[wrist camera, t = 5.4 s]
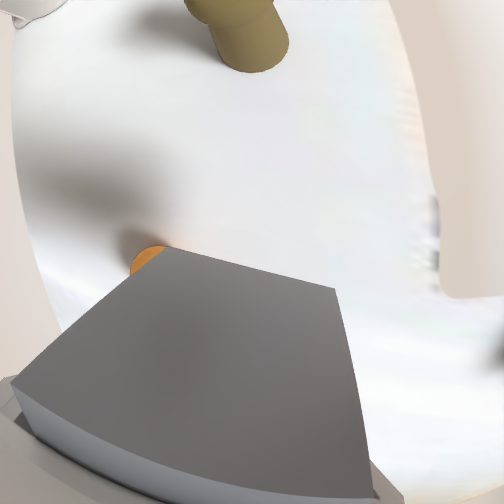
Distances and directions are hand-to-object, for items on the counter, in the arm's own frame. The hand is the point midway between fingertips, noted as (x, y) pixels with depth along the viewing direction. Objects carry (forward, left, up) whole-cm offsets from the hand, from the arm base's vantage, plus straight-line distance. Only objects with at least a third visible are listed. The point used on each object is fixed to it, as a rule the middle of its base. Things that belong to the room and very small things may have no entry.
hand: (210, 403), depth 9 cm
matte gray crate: (0, 0, -4) cm, 4 cm away
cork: (-14, +11, -18) cm, 25 cm away
